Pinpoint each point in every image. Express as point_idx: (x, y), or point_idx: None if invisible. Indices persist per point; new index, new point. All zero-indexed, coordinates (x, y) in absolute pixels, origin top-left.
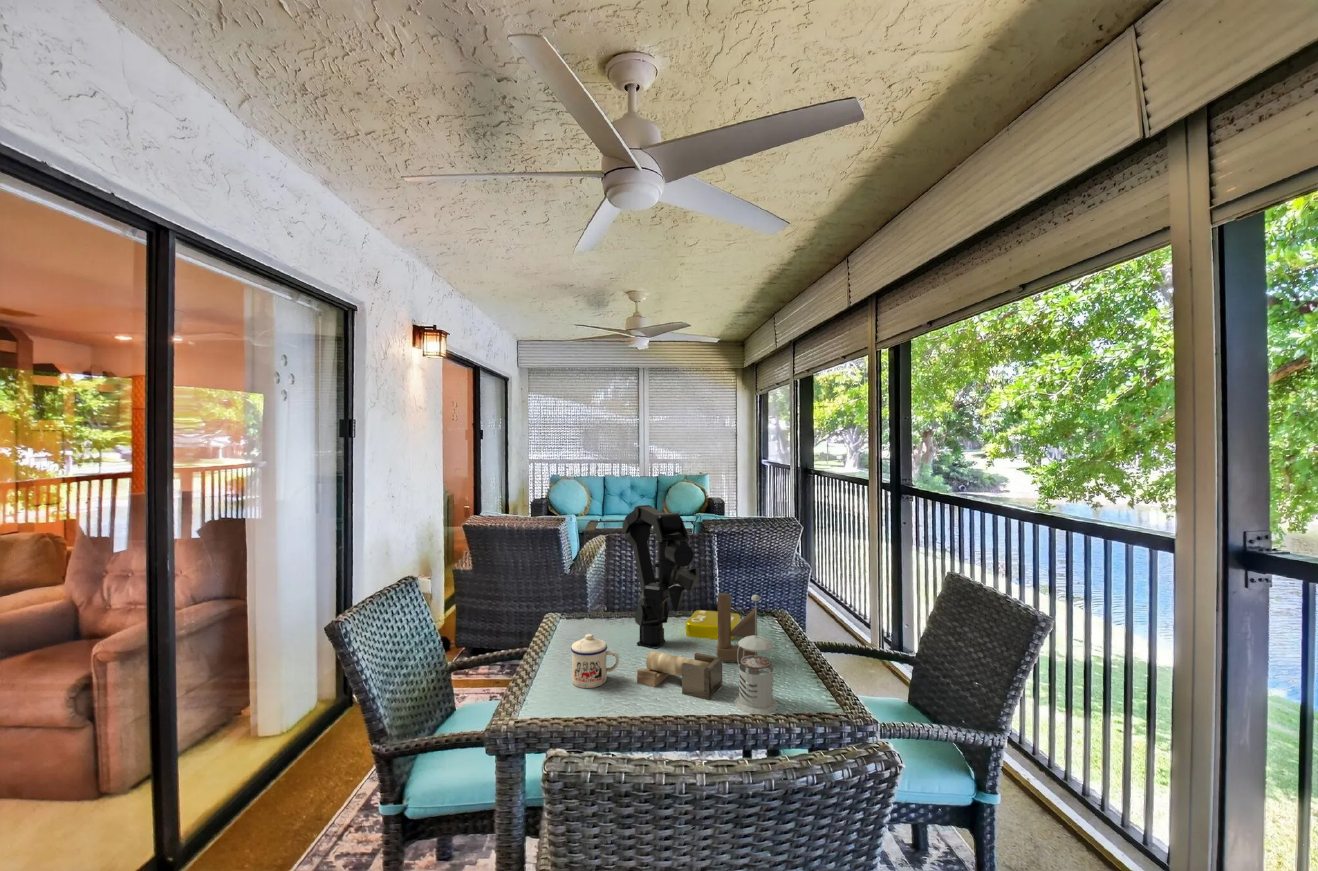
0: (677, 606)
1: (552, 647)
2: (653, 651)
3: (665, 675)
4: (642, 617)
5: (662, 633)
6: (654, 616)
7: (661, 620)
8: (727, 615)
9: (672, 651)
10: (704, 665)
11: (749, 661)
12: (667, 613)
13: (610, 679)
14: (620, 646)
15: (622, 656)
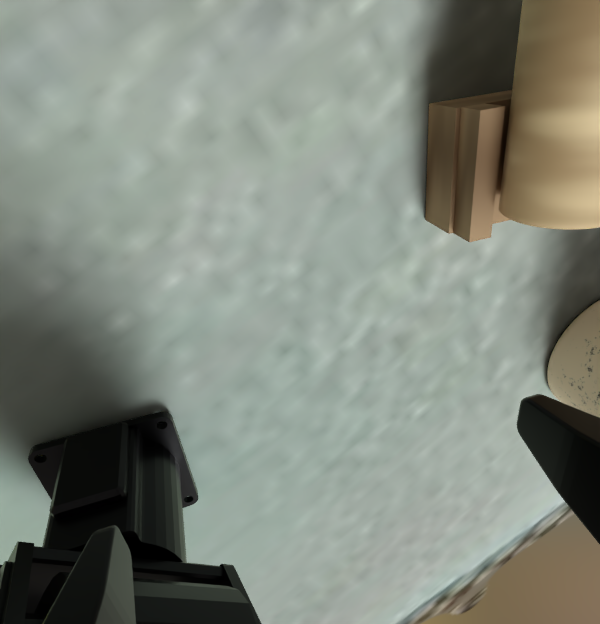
0: (110, 589)
1: (406, 607)
2: (597, 209)
3: (495, 94)
4: (256, 619)
5: (84, 475)
6: (190, 598)
7: (539, 396)
8: None
9: (123, 319)
10: None
11: None
12: (17, 612)
13: (571, 302)
14: (260, 516)
15: (350, 434)
